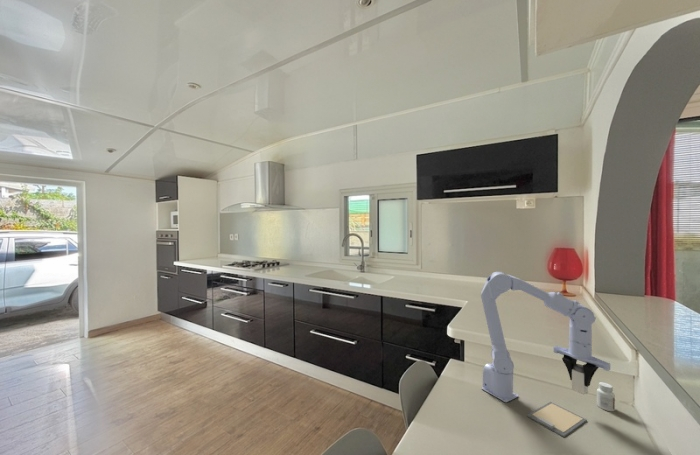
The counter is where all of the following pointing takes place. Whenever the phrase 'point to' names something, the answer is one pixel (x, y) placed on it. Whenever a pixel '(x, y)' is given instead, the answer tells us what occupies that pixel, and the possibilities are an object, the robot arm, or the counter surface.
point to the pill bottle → (605, 397)
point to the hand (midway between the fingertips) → (579, 382)
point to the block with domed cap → (578, 379)
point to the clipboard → (557, 419)
